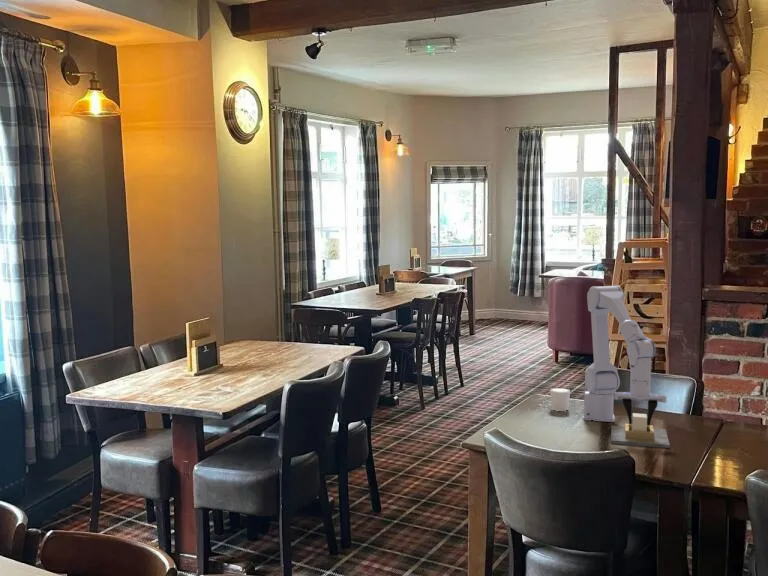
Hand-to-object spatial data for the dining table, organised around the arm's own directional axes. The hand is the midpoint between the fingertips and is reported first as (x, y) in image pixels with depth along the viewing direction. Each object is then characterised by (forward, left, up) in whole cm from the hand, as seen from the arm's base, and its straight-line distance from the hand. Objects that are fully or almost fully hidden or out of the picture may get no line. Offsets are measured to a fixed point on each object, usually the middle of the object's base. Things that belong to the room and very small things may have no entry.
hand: (639, 424), depth 217 cm
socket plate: (0, 0, -4) cm, 4 cm away
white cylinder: (-25, +27, -4) cm, 37 cm away
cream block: (0, 0, -3) cm, 3 cm away
